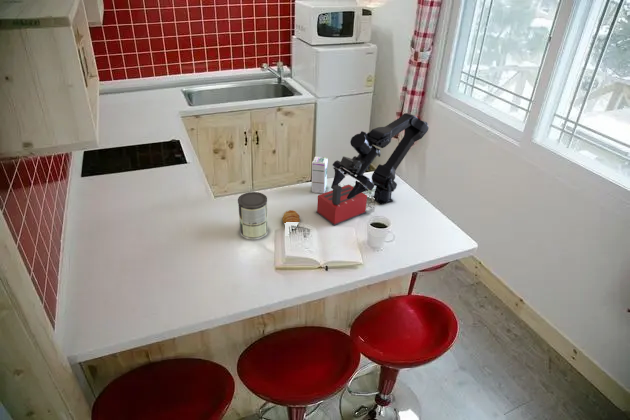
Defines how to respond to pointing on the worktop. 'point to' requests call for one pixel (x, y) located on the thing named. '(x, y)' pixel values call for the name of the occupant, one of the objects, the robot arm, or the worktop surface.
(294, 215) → the pastry
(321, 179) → the syrup box
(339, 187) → the slider
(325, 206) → the toaster
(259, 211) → the coffee can
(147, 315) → the worktop surface
